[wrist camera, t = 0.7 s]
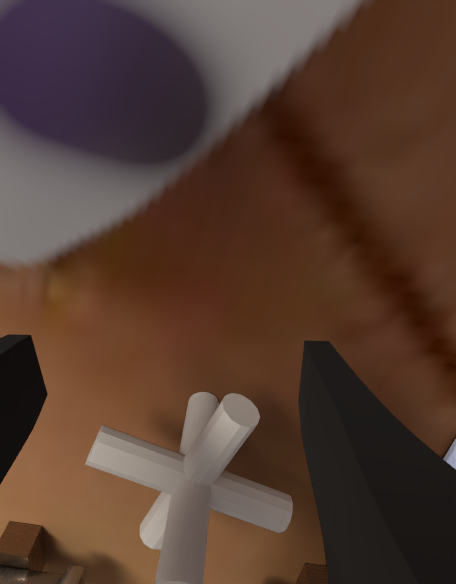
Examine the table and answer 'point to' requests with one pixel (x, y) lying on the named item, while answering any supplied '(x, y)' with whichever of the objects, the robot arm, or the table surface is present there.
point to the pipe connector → (193, 482)
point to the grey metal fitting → (30, 558)
